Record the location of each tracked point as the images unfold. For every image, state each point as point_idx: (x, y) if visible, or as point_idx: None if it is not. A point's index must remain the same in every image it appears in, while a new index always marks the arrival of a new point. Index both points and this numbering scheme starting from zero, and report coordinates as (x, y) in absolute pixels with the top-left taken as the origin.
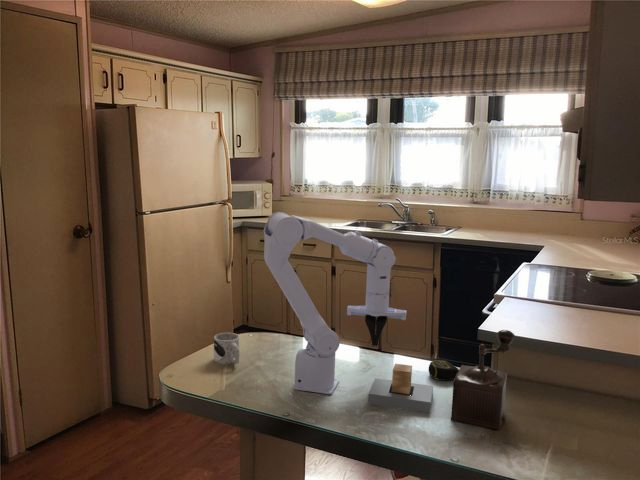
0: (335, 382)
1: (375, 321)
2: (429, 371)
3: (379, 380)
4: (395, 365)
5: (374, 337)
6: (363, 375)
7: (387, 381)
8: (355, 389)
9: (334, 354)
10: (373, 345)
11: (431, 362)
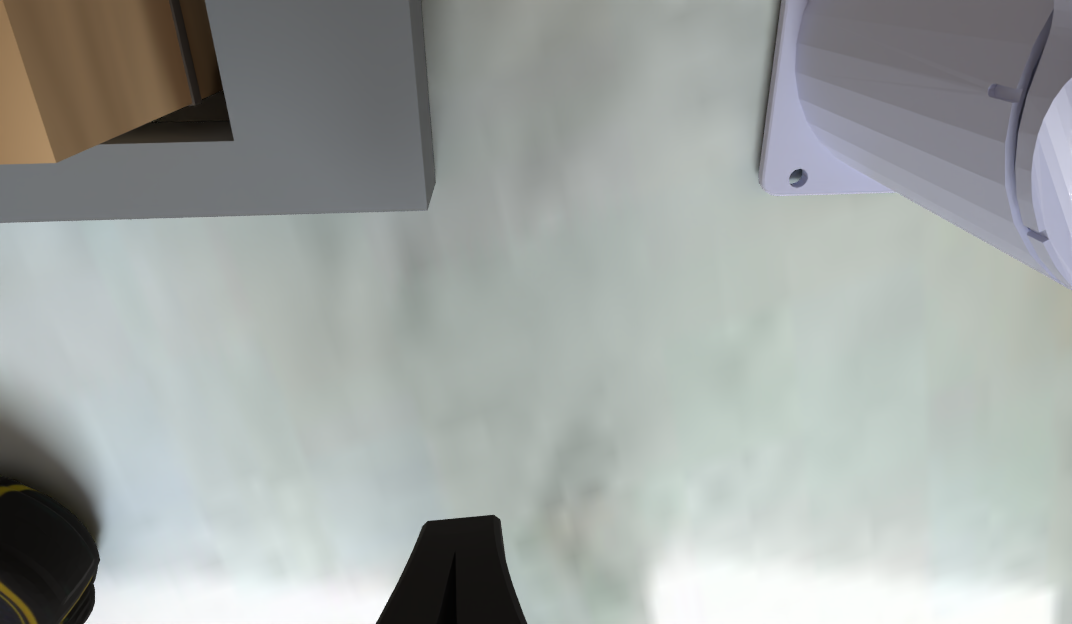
0: (787, 126)
1: None
2: (64, 534)
3: (369, 170)
4: (12, 83)
5: (456, 606)
6: (573, 376)
7: (286, 172)
8: (589, 90)
9: (1023, 68)
10: (477, 516)
11: (36, 619)
